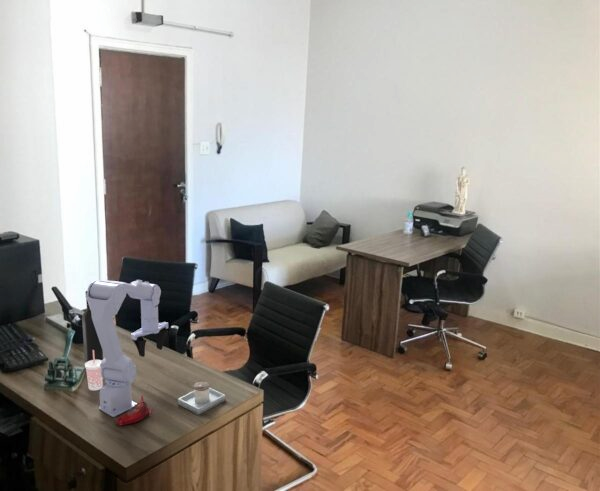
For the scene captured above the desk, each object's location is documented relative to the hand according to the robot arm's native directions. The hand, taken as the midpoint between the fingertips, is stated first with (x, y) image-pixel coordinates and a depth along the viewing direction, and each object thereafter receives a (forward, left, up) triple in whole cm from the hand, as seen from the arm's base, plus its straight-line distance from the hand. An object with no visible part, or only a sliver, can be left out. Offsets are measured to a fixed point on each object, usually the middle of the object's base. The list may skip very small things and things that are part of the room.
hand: (150, 352), depth 194 cm
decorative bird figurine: (-14, -19, -9) cm, 25 cm away
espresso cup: (+1, -25, -10) cm, 27 cm away
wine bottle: (-8, +23, -11) cm, 26 cm away
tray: (+1, -25, -10) cm, 27 cm away
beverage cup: (-16, +10, -11) cm, 22 cm away
